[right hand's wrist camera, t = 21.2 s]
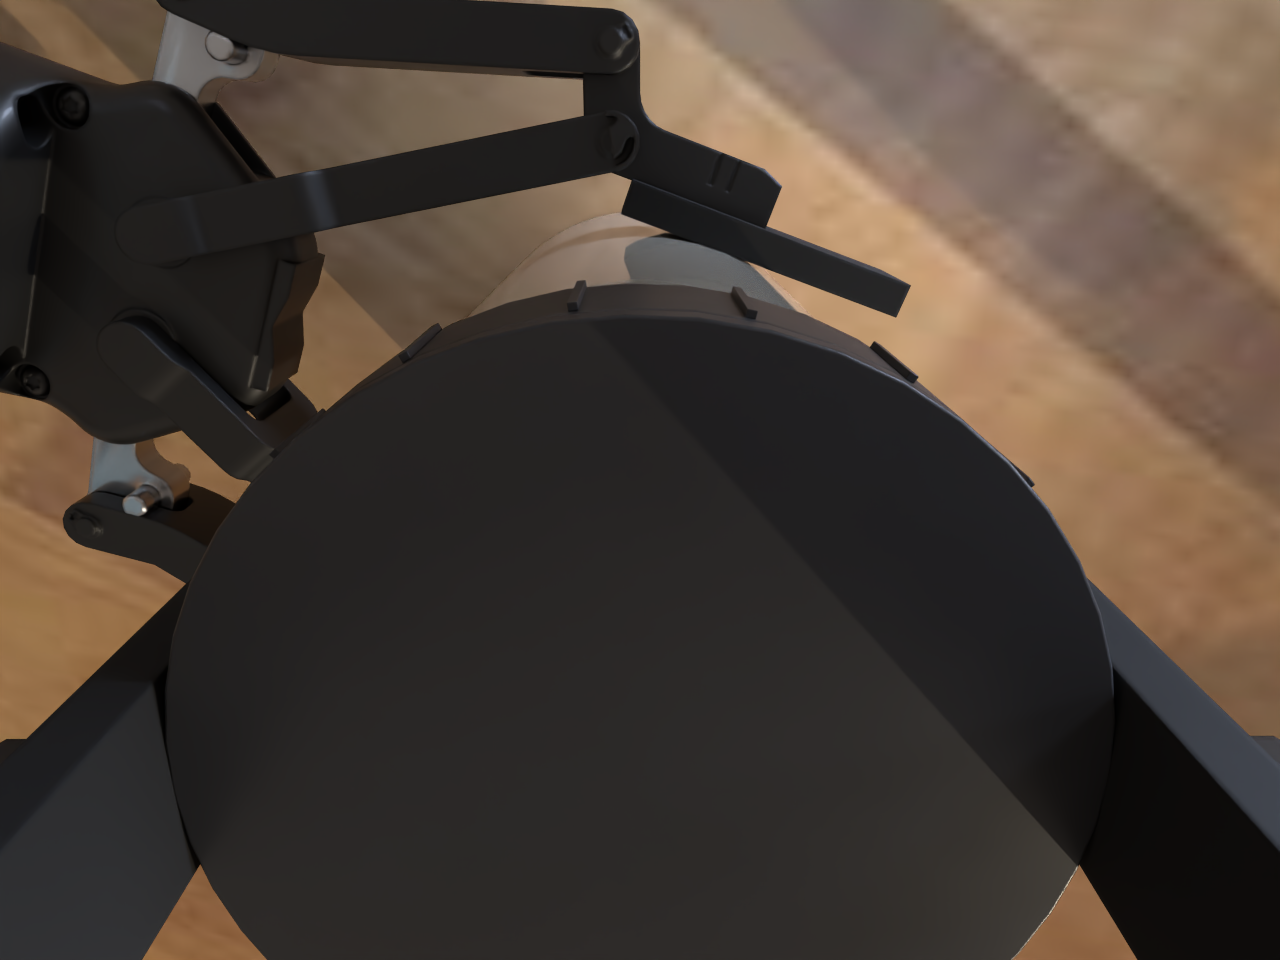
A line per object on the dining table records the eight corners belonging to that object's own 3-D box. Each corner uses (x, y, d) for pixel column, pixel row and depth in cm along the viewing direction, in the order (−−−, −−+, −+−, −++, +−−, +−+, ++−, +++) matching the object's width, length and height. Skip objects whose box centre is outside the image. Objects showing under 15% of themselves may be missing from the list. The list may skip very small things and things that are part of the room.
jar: (635, 135, 26) (627, 118, 9) (865, 373, 29) (1223, 737, 11) (414, 380, 29) (59, 753, 11) (643, 579, 31) (647, 1144, 14)
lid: (1088, 890, 14) (1166, 1019, 12) (414, 1039, 15) (379, 1182, 13) (971, 160, 10) (1053, 164, 8) (91, 426, 11) (-31, 489, 9)
